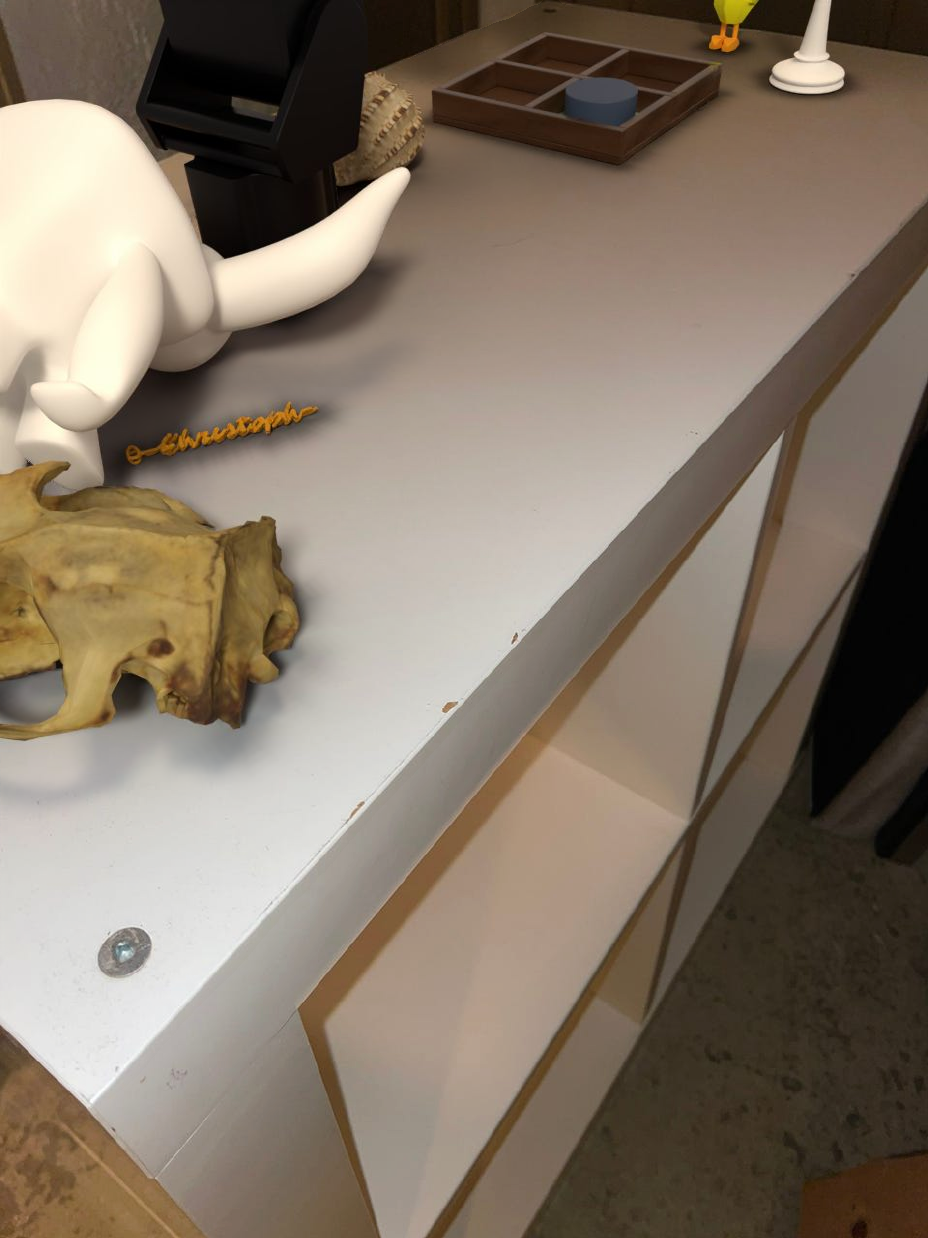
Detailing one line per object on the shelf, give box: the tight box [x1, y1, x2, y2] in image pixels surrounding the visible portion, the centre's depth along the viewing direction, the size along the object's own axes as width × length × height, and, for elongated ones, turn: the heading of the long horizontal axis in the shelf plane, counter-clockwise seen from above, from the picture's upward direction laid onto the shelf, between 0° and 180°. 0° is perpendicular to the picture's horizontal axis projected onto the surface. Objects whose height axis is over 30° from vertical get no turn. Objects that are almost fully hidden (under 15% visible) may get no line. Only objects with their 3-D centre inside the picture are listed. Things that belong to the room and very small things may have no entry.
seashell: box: [333, 71, 426, 187], centre depth 55 cm, size 8×6×10 cm
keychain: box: [125, 401, 318, 466], centre depth 39 cm, size 8×1×1 cm, turn 112°
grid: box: [431, 31, 724, 166], centre depth 63 cm, size 14×14×2 cm
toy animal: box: [0, 98, 411, 492], centre depth 37 cm, size 20×12×17 cm
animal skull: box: [0, 461, 300, 742], centre depth 29 cm, size 10×16×7 cm
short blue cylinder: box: [564, 78, 638, 127], centre depth 59 cm, size 4×4×2 cm
